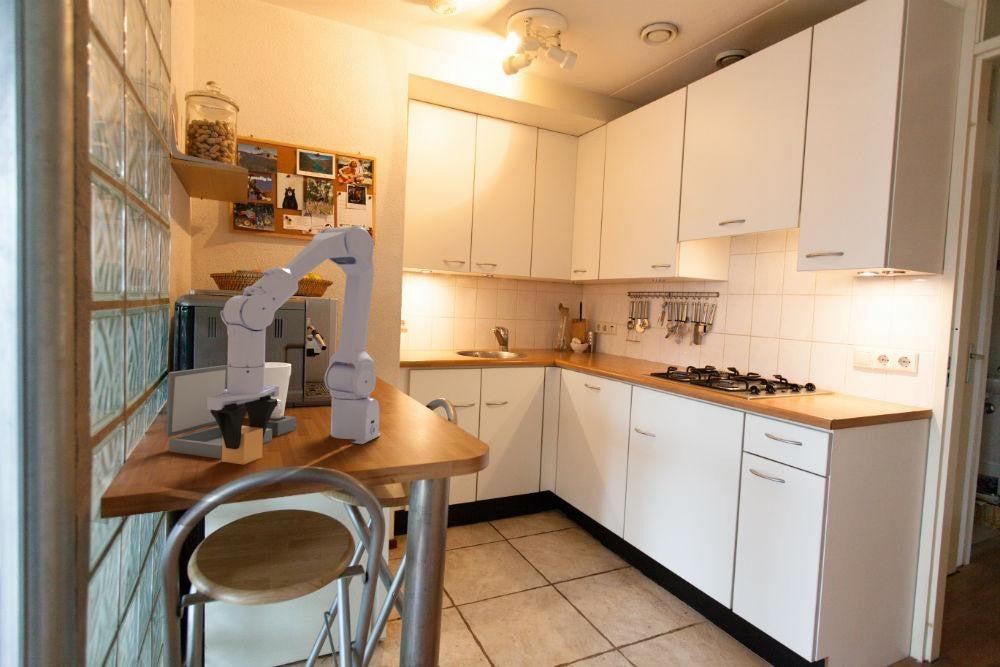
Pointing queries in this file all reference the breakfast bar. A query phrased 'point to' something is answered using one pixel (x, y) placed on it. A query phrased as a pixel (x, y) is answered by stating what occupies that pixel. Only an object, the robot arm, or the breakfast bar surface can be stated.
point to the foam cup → (278, 379)
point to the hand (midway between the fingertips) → (244, 443)
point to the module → (245, 447)
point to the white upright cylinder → (277, 412)
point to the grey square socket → (282, 425)
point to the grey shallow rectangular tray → (204, 442)
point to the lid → (192, 398)
